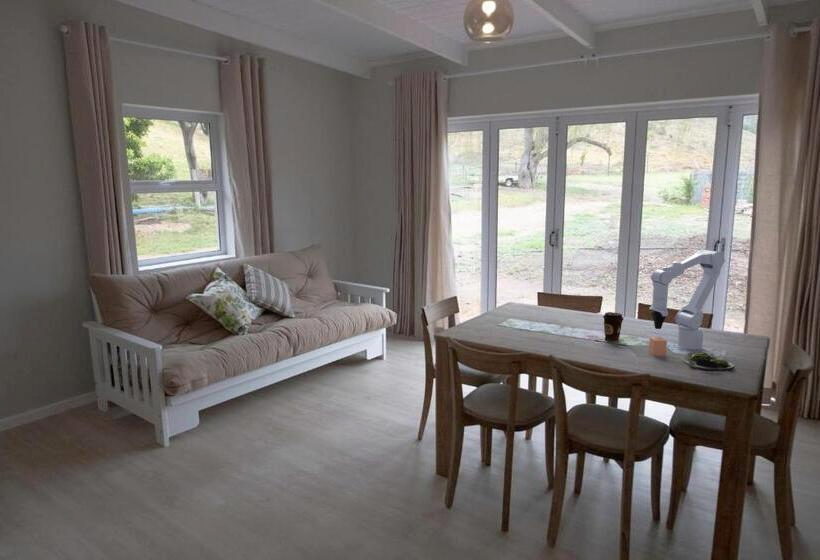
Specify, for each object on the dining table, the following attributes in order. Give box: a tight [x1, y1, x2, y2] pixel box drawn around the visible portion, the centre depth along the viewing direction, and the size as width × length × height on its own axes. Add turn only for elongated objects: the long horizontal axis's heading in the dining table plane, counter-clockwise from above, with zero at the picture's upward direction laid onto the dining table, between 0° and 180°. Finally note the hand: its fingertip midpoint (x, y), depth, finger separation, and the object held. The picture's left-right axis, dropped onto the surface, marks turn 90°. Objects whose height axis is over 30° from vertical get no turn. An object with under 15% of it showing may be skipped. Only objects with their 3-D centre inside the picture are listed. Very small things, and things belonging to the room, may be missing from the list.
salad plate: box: [681, 351, 735, 372], centre depth 222 cm, size 19×18×5 cm
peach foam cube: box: [648, 336, 668, 356], centre depth 233 cm, size 5×5×7 cm
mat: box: [626, 344, 681, 359], centre depth 238 cm, size 17×17×1 cm
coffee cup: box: [602, 311, 624, 343], centre depth 254 cm, size 9×8×13 cm
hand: (658, 328), depth 239 cm, fingers closed
